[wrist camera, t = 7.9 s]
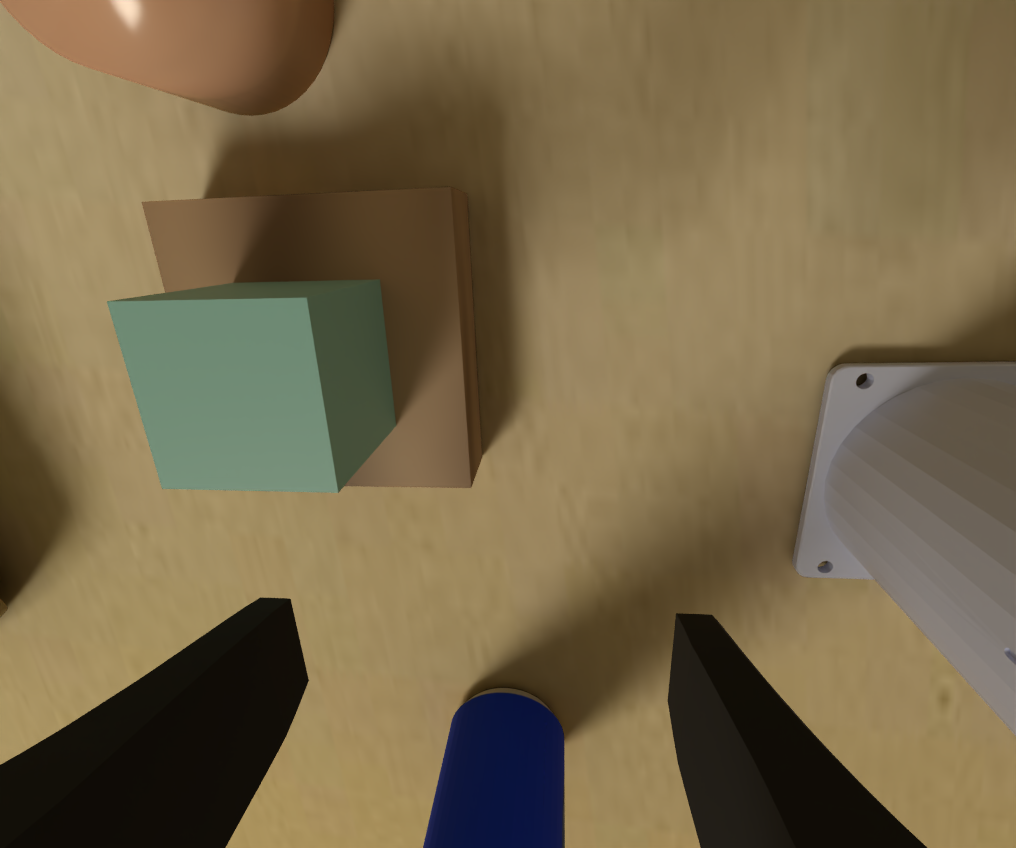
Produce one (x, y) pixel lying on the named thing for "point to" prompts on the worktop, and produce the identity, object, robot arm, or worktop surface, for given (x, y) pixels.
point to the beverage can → (500, 776)
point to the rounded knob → (192, 45)
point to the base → (360, 256)
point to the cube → (259, 382)
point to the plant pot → (2, 608)
